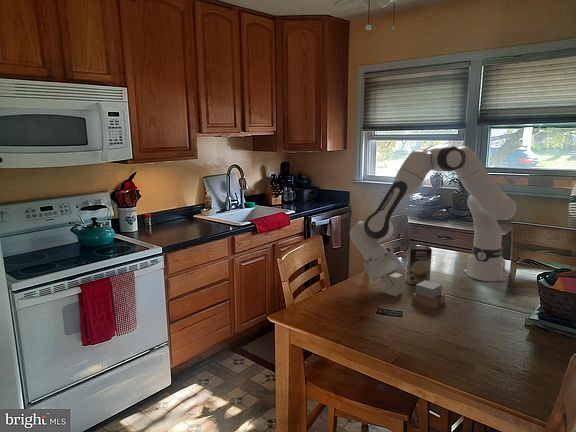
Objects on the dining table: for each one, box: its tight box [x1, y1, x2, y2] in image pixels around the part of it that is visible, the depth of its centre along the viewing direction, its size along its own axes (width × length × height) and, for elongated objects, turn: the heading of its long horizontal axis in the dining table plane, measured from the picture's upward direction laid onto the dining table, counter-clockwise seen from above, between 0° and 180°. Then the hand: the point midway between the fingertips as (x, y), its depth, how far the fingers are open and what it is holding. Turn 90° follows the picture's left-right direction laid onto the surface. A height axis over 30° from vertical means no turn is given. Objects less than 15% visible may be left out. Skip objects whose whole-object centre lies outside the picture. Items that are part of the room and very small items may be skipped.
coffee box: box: [405, 245, 433, 285], centre depth 181 cm, size 9×6×16 cm
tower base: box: [411, 292, 446, 311], centre depth 159 cm, size 9×9×4 cm
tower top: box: [415, 280, 443, 299], centre depth 159 cm, size 7×7×4 cm
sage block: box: [384, 272, 404, 297], centre depth 169 cm, size 5×5×8 cm
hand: (395, 283), depth 169 cm, fingers closed on sage block, 5 cm apart
